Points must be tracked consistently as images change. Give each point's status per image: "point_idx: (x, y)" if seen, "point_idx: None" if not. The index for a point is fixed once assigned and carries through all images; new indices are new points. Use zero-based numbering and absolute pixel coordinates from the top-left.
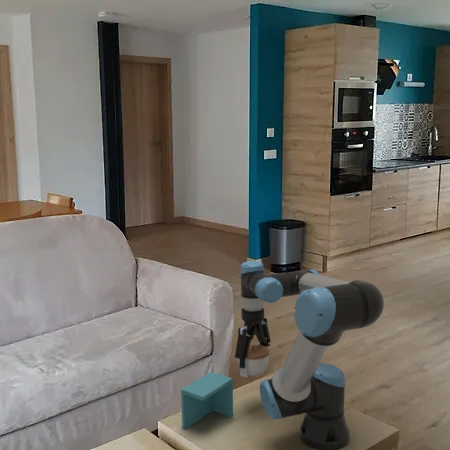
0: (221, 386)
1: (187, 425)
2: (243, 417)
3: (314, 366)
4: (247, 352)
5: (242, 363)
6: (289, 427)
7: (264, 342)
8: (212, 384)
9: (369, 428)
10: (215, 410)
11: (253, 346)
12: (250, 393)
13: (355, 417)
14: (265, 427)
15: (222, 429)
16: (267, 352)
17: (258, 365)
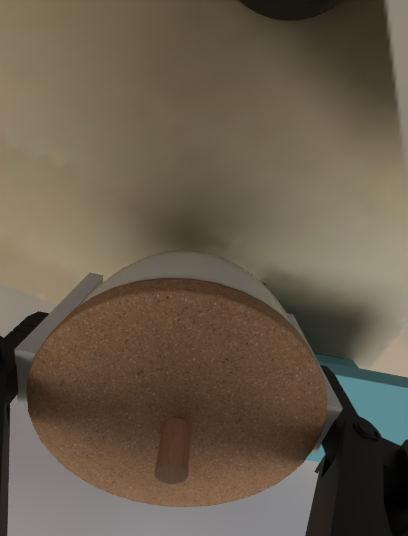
0: (374, 379)
1: (344, 362)
2: (253, 254)
3: None
4: (345, 462)
5: (347, 400)
6: (269, 82)
7: (4, 407)
8: (372, 413)
9: None
10: None
11: (187, 463)
12: None
13: None
14: (292, 168)
15: (333, 282)
16: (179, 298)
17: (274, 297)
